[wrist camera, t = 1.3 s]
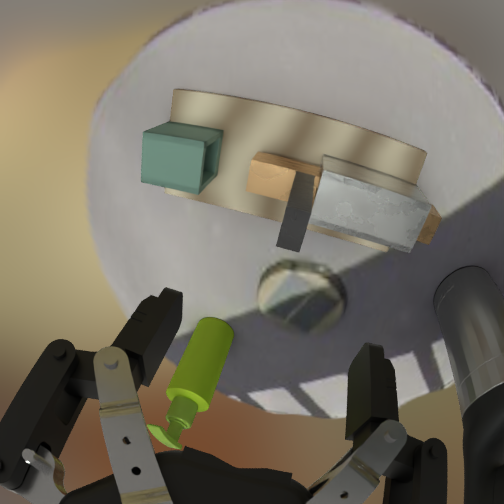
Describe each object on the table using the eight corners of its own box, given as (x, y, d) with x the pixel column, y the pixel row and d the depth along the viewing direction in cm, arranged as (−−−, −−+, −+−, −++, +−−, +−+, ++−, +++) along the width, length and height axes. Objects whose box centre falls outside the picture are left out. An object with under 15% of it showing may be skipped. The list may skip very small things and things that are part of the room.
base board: (424, 150, 26) (427, 153, 25) (385, 247, 33) (386, 252, 32) (177, 88, 28) (173, 89, 27) (168, 189, 35) (164, 193, 34)
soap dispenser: (223, 310, 44) (172, 434, 27) (239, 342, 47) (200, 458, 30) (189, 313, 46) (132, 425, 29) (206, 343, 49) (161, 450, 32)
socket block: (223, 130, 29) (204, 141, 24) (217, 175, 32) (198, 195, 27) (169, 121, 29) (143, 131, 25) (166, 164, 32) (141, 182, 28)
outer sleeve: (415, 184, 27) (431, 206, 23) (398, 225, 30) (409, 253, 26) (323, 153, 28) (323, 170, 24) (310, 199, 31) (307, 223, 26)
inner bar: (432, 204, 26) (471, 264, 18) (421, 229, 28) (452, 295, 20) (258, 151, 28) (226, 191, 19) (252, 180, 30) (220, 231, 21)
